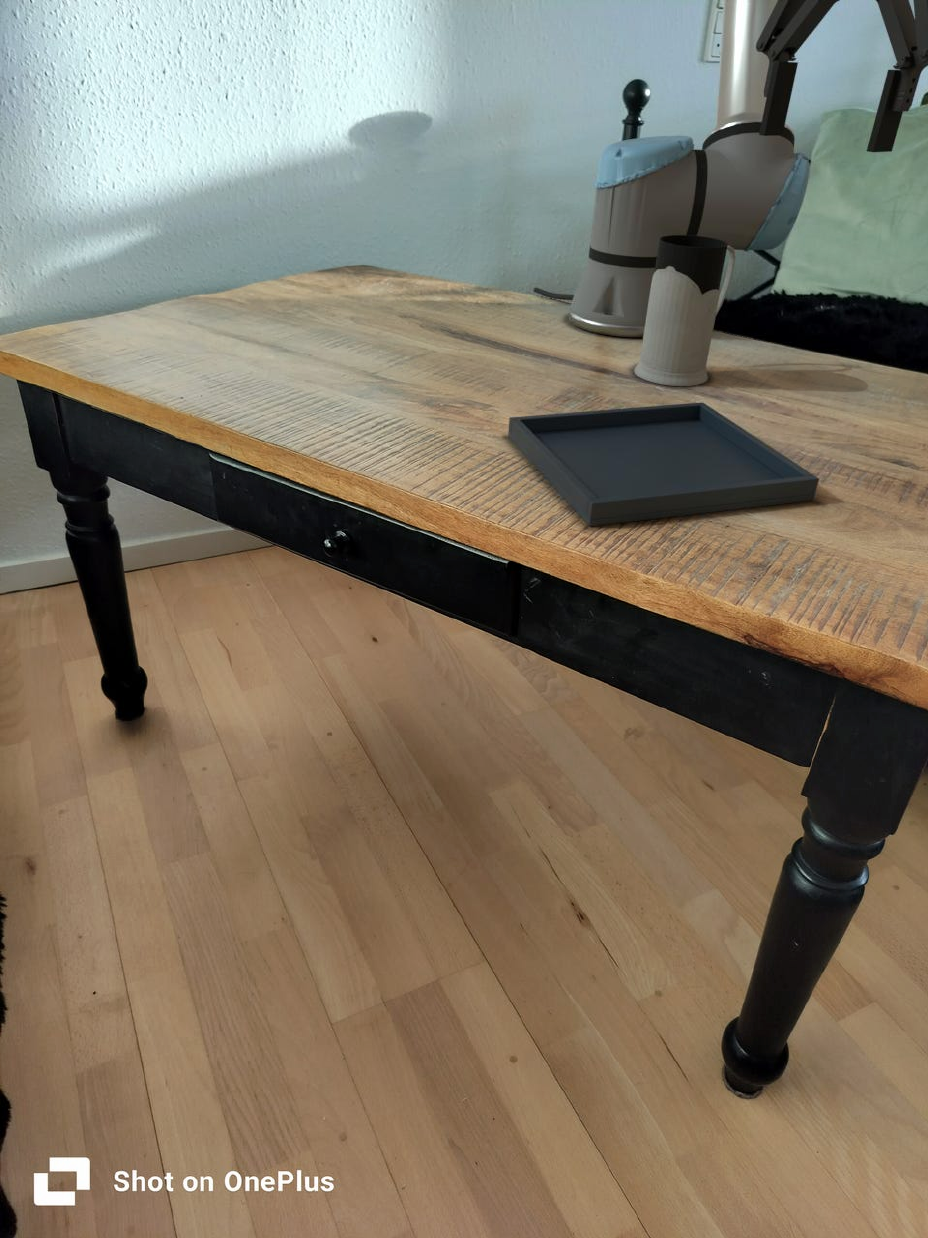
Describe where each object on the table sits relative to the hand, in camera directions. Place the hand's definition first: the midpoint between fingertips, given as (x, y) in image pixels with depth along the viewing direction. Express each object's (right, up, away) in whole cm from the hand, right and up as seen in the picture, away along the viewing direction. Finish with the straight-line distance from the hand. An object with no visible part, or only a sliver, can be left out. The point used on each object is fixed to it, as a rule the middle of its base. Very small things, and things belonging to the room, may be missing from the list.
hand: (821, 143), depth 86 cm
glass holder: (-9, -17, +20) cm, 28 cm away
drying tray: (-18, -33, -5) cm, 38 cm away
